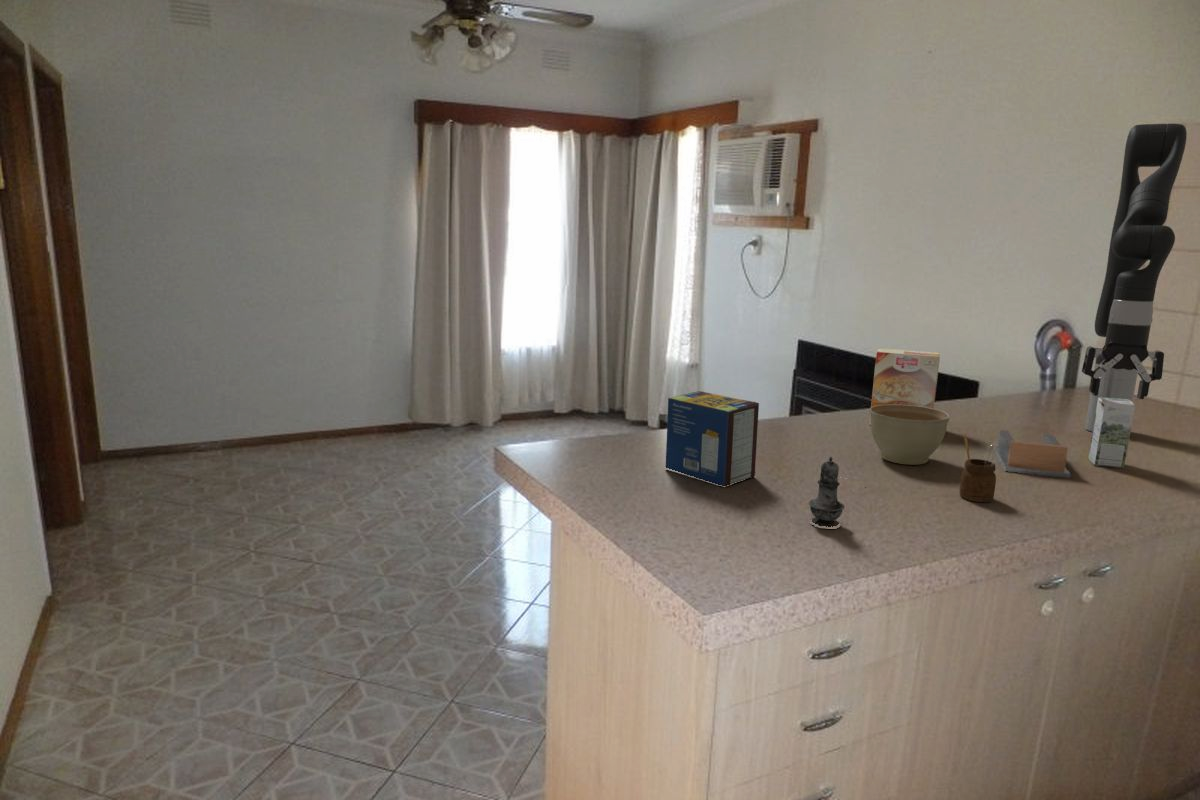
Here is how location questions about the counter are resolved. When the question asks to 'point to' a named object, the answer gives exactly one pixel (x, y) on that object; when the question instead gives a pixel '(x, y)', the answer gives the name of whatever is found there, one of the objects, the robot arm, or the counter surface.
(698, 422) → the protein box
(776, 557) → the counter surface
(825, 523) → the salt shaker
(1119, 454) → the syrup box
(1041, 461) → the guide bracket
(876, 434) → the planter bowl
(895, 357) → the coffeecake box
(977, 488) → the utensil holder
